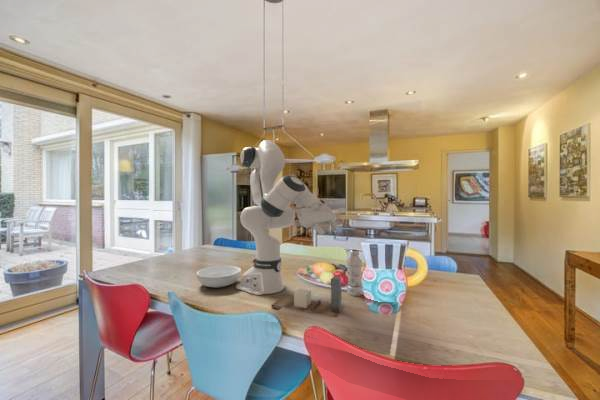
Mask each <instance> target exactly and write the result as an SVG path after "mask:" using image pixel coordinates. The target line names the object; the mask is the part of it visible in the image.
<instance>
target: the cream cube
mask: <svg viewBox="0 0 600 400" xmlns="http://www.w3.org/2000/svg"><path fill="white" fill-rule="evenodd" d="M293 297H294V306H297V307H303V308H307V307H308V306H309V305H310V304H311V300H312V290H310V289H305V288H299V289H297V290H296V291H295V292H293Z"/></svg>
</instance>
